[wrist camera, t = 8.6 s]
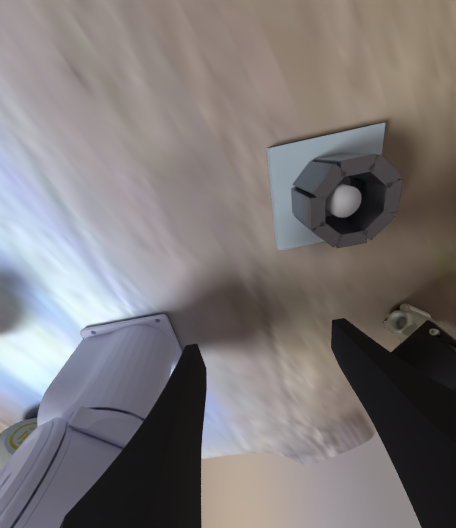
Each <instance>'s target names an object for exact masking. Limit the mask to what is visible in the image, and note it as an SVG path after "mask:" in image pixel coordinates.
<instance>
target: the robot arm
mask: <svg viewBox="0 0 456 528" xmlns="http://www.w3.org/2000/svg"><path fill="white" fill-rule="evenodd" d="M157 319H159V320H157ZM80 335H81V336H82V338H83V340H82V341H81V343H80V344H79V345H78V347H77V348H76V350H75V351H74V352H73V354H72V355H71V356H70V358H69V359H68V361H67V362H66V363H65V365H64V366H63V368H62V369H61V370H60V372H59V373H58V374H57V376H56V377H55V379H54V380H53V381H52V383H51V384H50V386H49V387H48V389H47V390H46V392H45V394H44V396H43V398H42V401H41V404H40V407H39V411H38V417H37V426H38V427H37V428H36V429H35V430H34V431H33V432H32V433H31V434H30V435H29V436H28V437H27V438H26V439H25V441H24V442H23V443H22V444H21V445H20V446H19V448H18V449H17V450H16V451H15V453H14V454H13V455H12V456H11V458H10V459H9V460H8V461H7V463H6V464H5V465H4V467H3V468H2V469H1V471H0V528H201V445H202V431H203V421H204V411H205V400H206V367H205V364H204V361H203V358H202V356H201V353H200V350H199V348H198V345H197V344H192V345H186V346H185V348H184V350H183V352H182V350H181V347H180V345H179V343H178V340H177V338H176V336H175V333H174V331H173V328H172V326H171V324H170V321H169V319H168V317H167V316H166V315H165V314H160V315H154V316H149V317H143V318H138V319H132V320H127V321H121V322H116V323H111V324H105V325H100V326H94V327H89V328H84V329H82V330H81V331H80ZM331 348H332V351H333V353H334V355H335V357H336V360H337V362H338V364H339V366H340V368H341V370H342V371H343V373H344V375H345V376H346V378H347V380H348V381H349V383H350V385H351V386H352V388H353V390H354V391H355V393H356V395H357V396H358V398H359V400H360V401H361V403H362V405H363V406H364V408H365V410H366V411H367V413H368V415H369V417H370V418H371V420H372V422H373V424H374V426H375V428H376V430H377V432H378V434H379V436H380V438H381V440H382V442H383V444H384V446H385V448H386V450H387V452H388V454H389V456H390V458H391V461H392V463H393V465H394V467H395V469H396V471H397V473H398V475H399V478H400V480H401V482H402V484H403V486H404V489H405V491H406V493H407V495H408V497H409V500H410V502H411V504H412V506H413V509H414V511H415V513H416V516H417V518H418V520H419V522H420V525H421V527H422V528H456V391H454V390H452V389H450V388H448V387H446V386H444V385H443V384H441V383H439V382H437V381H436V380H434V379H432V378H430V377H429V376H427V375H425V374H423V373H422V372H420V371H418V370H417V369H415V368H414V367H412V366H410V365H409V364H407V363H406V362H404V361H403V360H401V359H400V358H398V357H397V356H395V355H394V354H392V353H391V352H389V351H388V350H386V349H385V348H384V347H382V346H381V345H379V344H378V343H377V342H375V341H374V340H372V339H371V338H370V337H368V336H367V335H366V334H364V333H363V332H362V331H360V330H359V329H358V328H356V327H355V326H354V325H353V324H351V323H350V322H349V321H347V320H346V319H344V318H342V319H336V320H332V339H331ZM171 369H174V371H173V373H172V374H171ZM170 374H171V376H170Z"/></svg>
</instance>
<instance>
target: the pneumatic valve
mask: <svg viewBox="0 0 456 528" xmlns="http://www.w3.org/2000/svg"><path fill="white" fill-rule="evenodd" d="M384 327H385V328H387V329H389V330H391V332H392V333H393V334H394V335H395V336H396V337H397V338H399V339H400V345H399V346H398V347H397V348H395V349H394V350H393V351H392V352H391V353H392V354H394V355H395V356H397V357H398V358H400V359H401V360H403V361H404V362H406V363H407V364H409V365H410V366H412V367H414V368H415V369H417V370H418V371H420V372H422V373H423V374H425V375H427V376H429V377H430V378H432V379H434V380H436V381H437V382H439V383H441V384H443V385H444V386H446V387H448V388H450V389H452V390H454V391H456V332H455V331H453V330H451V329H448V328H446V327H444V326H441V325H440V324H439V323H438V322H437V321H435V320H433V319H431V315H430V314H429V313H427V312H425V311H423V310H420V309H418V308H416V307H413V306H411V305H409V304H406V303H404V304H402V305H400V310H399V311H394V312H392V313H391V314H390V315H389V316H388V318H387V320H386V321H384Z"/></svg>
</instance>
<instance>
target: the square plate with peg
mask: <svg viewBox="0 0 456 528" xmlns="http://www.w3.org/2000/svg"><path fill="white" fill-rule="evenodd" d="M384 132H385V123H380V124H375V125H370V126H366V127H361V128H357V129H352V130H348V131H343V132H339V133H334V134H329V135H325V136H320V137H316V138H311V139H307V140H302V141H298V142H293V143H289V144H284V145H280V146H275V147H271V148H266V151H267V161H268V170H269V180H270V190H271V200H272V210H273V219H274V229H275V239H276V247H277V248H278V250H279V251H280V250H285V249H290V248H295V247H300V246H305V245H311V244H316V243H321V242H325V241H324V240H323V239H321V238H320V237H318V236H317V235H316V234H314V233H313V232H312V231H311V230H309V229H308V228H307V227H306V226H305V225H304V224H302V223H301V222H300V221H299V220H298V219H297V218H296V217H294V214H293V213H292V200H291V188H296V187H295V186H294V185H292V184H293V183H294V181H295V180H296V179H297V177H298V176H299V175H300V173H301V172H302V171H303V169H304V168H305V167H306V165H307V164H308V163H309V161H312V162H314V158H319V157H323V156H328V155H333V154H337V153H376V154H379V155H382V149H383V140H384ZM360 203H361V193H360V191H359V190H358V189H357V188H355V187H352V186H350V178H349V177H348V176H346V177H344V178H343V179H342V180H341V181H340V182H339V184H338V185H337V186H336V187H335V188H334V190H333V191H332V192H331V193H330V194H329V196H328V197H327V198H326V199H325V217H326V216H331V215H335V216H337V217H341V218H343V217H348V216H350V215H352V214H353V213H354V212H355V211H356V210H357V209H358V208H359V206H360Z"/></svg>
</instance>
